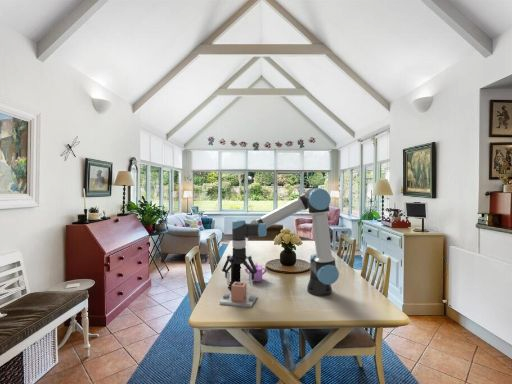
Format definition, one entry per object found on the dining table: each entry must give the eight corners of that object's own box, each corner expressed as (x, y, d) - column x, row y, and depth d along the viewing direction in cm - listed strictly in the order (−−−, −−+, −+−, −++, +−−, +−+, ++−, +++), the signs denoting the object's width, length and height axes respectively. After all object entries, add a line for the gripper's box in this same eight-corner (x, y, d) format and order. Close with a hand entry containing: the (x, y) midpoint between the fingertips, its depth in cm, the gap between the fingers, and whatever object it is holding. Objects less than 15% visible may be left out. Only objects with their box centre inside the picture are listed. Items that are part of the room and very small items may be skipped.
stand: (256, 297, 165) (257, 281, 165) (251, 307, 152) (251, 289, 151) (227, 294, 169) (227, 279, 169) (219, 304, 156) (219, 287, 155)
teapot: (270, 281, 193) (270, 265, 193) (255, 285, 185) (255, 269, 185) (256, 275, 205) (256, 261, 205) (241, 279, 197) (241, 264, 197)
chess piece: (227, 287, 181) (227, 256, 180) (239, 286, 184) (239, 255, 183) (231, 292, 173) (231, 259, 173) (243, 290, 176) (243, 258, 176)
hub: (246, 296, 163) (246, 282, 163) (243, 301, 156) (243, 286, 156) (234, 295, 165) (234, 281, 164) (231, 299, 158) (231, 285, 158)
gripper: (261, 246, 161) (262, 283, 161) (220, 245, 166) (221, 280, 167) (259, 249, 153) (259, 288, 154) (216, 248, 159) (216, 285, 159)
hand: (239, 284), depth 160 cm, fingers open, 13 cm apart
